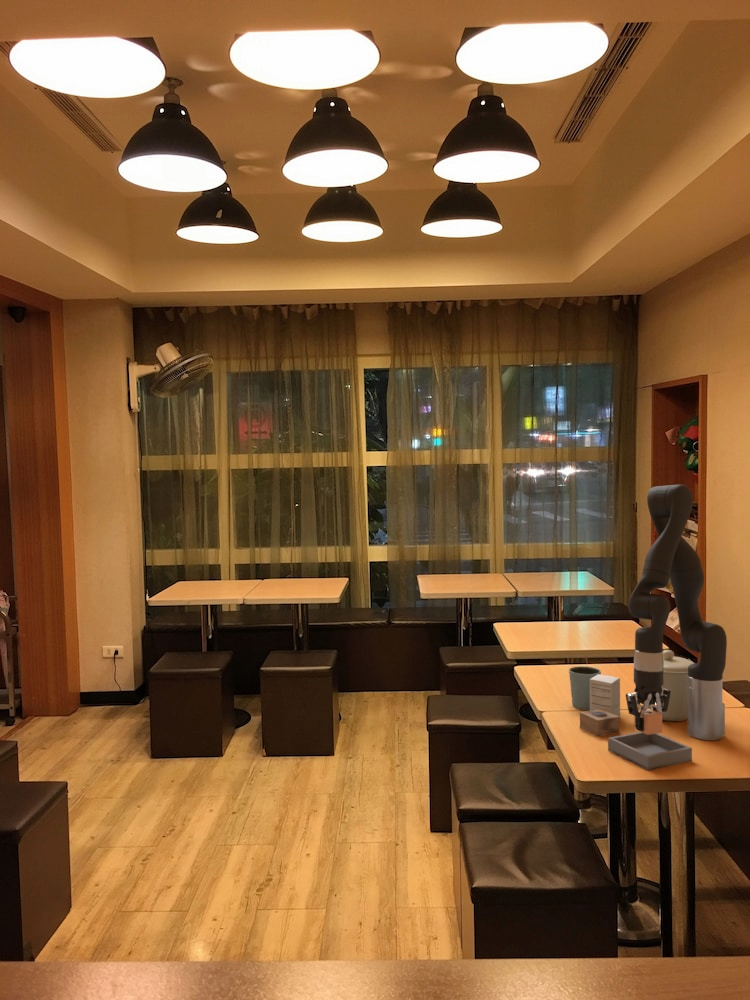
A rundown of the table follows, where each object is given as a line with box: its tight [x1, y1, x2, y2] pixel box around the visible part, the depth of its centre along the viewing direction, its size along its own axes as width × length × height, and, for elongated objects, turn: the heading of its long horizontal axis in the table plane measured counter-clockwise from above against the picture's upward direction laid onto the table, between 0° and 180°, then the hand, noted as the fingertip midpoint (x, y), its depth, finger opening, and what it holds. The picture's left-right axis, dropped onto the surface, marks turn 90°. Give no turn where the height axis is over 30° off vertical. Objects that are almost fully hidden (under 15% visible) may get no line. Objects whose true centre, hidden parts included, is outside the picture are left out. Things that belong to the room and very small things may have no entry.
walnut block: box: [579, 709, 620, 737], centre depth 211 cm, size 8×8×5 cm
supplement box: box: [589, 674, 621, 718], centre depth 222 cm, size 7×7×13 cm
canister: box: [647, 649, 695, 722], centre depth 223 cm, size 18×18×21 cm
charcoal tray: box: [607, 731, 693, 772], centre depth 192 cm, size 15×15×4 cm
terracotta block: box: [633, 708, 663, 735], centre depth 192 cm, size 5×5×5 cm
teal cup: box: [568, 665, 602, 711], centre depth 234 cm, size 10×10×12 cm
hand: (648, 728), depth 192 cm, fingers closed on terracotta block, 5 cm apart
